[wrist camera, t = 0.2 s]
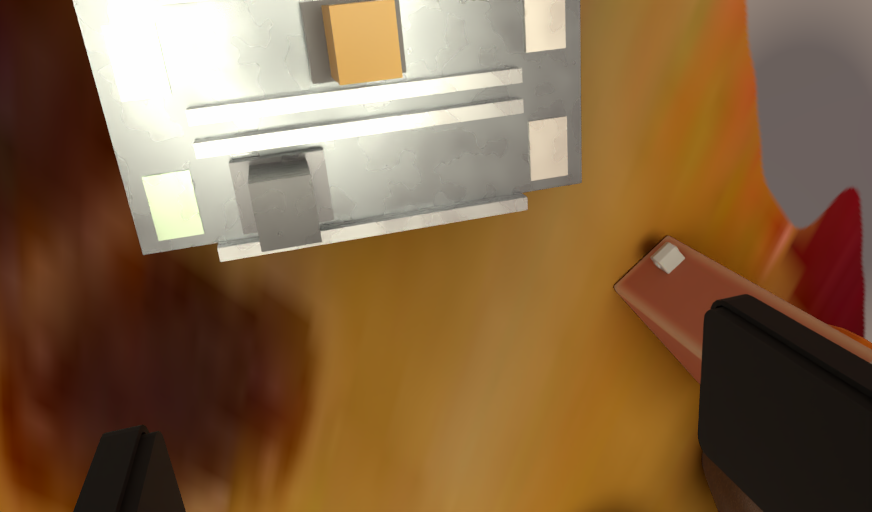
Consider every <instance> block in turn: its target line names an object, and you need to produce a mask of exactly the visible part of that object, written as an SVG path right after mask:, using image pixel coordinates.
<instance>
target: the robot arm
mask: <svg viewBox="0 0 872 512" xmlns="http://www.w3.org/2000/svg"><path fill="white" fill-rule="evenodd" d="M698 439H699V443H700V446H701V448H702V450H703V452H704V453H705V454H706V456H707V457H708V458H709V459H710V460H711V461H712V462H713V463H714V464H715V465H716V466H717V467H718V468H720V469H721V470H722V471H723V472H724V473H725V474H726V475H727V476H728V477H729V478H730V479H731V480H732V481H733V482H734V483H735V484H736V485H737V486H738V487H739V488H740V489H741V490H742V491H743V492H744V493H745V494H746V495H747V496H748V497H749V498H750V499H751V500H752V501H753V502H754V503H755V504H756V505H757V506H758V507H759V508H760V509H761V510H762V511H763V512H872V364H871V363H869V362H867V361H865V360H864V359H862V358H860V357H858V356H857V355H855V354H853V353H851V352H850V351H848V350H846V349H844V348H843V347H841V346H839V345H837V344H836V343H834V342H832V341H830V340H829V339H827V338H825V337H823V336H822V335H820V334H818V333H816V332H815V331H813V330H811V329H809V328H808V327H806V326H804V325H802V324H801V323H799V322H797V321H795V320H794V319H792V318H790V317H788V316H786V315H785V314H783V313H781V312H779V311H778V310H776V309H774V308H772V307H771V306H769V305H767V304H765V303H764V302H762V301H760V300H758V299H757V298H755V297H753V296H751V295H748V294H742V295H738V296H733V297H729V298H724V299H719V300H716V301H715V302H713V304H712V306H711V308H710V310H708V311H707V312H706V313H705V315H704V323H703V343H702V362H701V382H700V401H699V421H698ZM73 512H186V511H185V508H184V504H183V501H182V498H181V494H180V491H179V488H178V484H177V481H176V478H175V474H174V471H173V468H172V464H171V461H170V458H169V455H168V451H167V448H166V445H165V441H164V438H163V436H162V434H161V432H159V431H157V432H152V433H149V431H148V429H147V428H146V426H144V425H140V426H135V427H130V428H126V429H121V430H117V431H112V432H107V433H104V434H103V435H102V437H101V439H100V442H99V445H98V447H97V450H96V453H95V455H94V458H93V461H92V463H91V466H90V469H89V471H88V474H87V477H86V479H85V482H84V485H83V487H82V490H81V493H80V495H79V498H78V500H77V503H76V506H75V508H74V511H73Z"/></svg>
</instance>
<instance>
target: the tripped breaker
mask: <svg viewBox="0 0 872 512" xmlns="http://www.w3.org/2000/svg"><path fill="white" fill-rule="evenodd" d="M299 3H300V9H301V16H302V22H303V29H304V35H305V41H306V48H307V54H308V60H309V67H310V73H311V79H312V83H313V84H318V83H327V82H335V81H336V82H337V83H338V84H339V85H348V84H356V83H364V82H372V81H380V80H388V79H396V78H403V75H402V73H407V71H406V61H405V52H404V42H403V33H402V23H401V13H400V4H399V0H318V1H307V2H299Z"/></svg>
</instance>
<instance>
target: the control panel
mask: <svg viewBox="0 0 872 512" xmlns="http://www.w3.org/2000/svg"><path fill="white" fill-rule="evenodd" d="M614 288H615V291H616V292H617V293H618V294H619V295H620V296H621V297H622V298H623V300H624V301H625V302H626V303H627V304H628V305H629V306H630V307H631V308H632V310H633V311H634V312H635V313H636V314H637V315H638V316H639V317H640V318H641V320H642V321H643V322H644V323H645V324H646V325H647V326H648V327H649V328H650V330H651V331H652V332H653V333H654V334H655V335H656V336H657V337H658V338H659V340H660V341H661V342H662V343H663V344H664V345H665V346H666V347H667V348H668V350H669V351H670V352H671V353H672V354H673V355H674V356H675V357H676V358H677V360H678V361H679V362H680V363H681V364H682V365H683V366H684V367H685V368H686V370H687V371H688V372H689V373H690V374H691V375H692V376H693V377H694V378H695V380H696V381H697V382H698V383H699V384H700V382H701V362H702V343H703V323H704V315H705V313H706V312H707V311H708V310H710V308H711V306H712V304H713V302H715V301H716V300H719V299H724V298H729V297H733V296H738V295H742V294H748V295H751V296H753V297H755V298H757V299H758V300H760V301H762V302H764V303H765V304H767V305H769V306H771V307H772V308H774V309H776V310H778V311H779V312H781V313H783V314H785V315H786V316H788V317H790V318H792V319H794V320H795V321H797V322H799V323H801V324H802V325H804V326H806V327H808V328H809V329H811V330H813V331H815V332H816V333H818V334H820V335H822V336H823V337H825V338H827V339H829V340H830V341H832V342H834V343H836V344H837V345H839V346H841V347H843V348H844V349H846V350H848V351H850V352H851V353H853V354H855V355H857V356H858V357H860V358H862V359H864V360H865V361H867V362H869V363H871V364H872V343H871V342H869V341H868V340H866V339H864V338H862V337H860V336H858V335H856V334H854V333H852V332H850V331H848V330H846V329H843V328H840V327H836V326H832V325H827V324H825V323H823V322H822V321H820V320H818V319H816V318H814V317H813V316H811V315H809V314H807V313H806V312H804V311H802V310H800V309H798V308H797V307H795V306H793V305H791V304H790V303H788V302H786V301H784V300H782V299H781V298H779V297H777V296H775V295H774V294H772V293H770V292H768V291H766V290H765V289H763V288H761V287H759V286H758V285H756V284H754V283H752V282H751V281H749V280H747V279H745V278H743V277H742V276H740V275H738V274H736V273H735V272H733V271H731V270H729V269H727V268H726V267H724V266H722V265H720V264H719V263H717V262H715V261H713V260H711V259H710V258H708V257H706V256H704V255H703V254H701V253H699V252H697V251H695V250H694V249H692V248H690V247H688V246H687V245H685V244H683V243H681V242H679V241H678V240H676V239H674V238H672V237H670V236H667V237H665V238H664V239H663V240H662V241H661V242H660V243H659V244H658V245H657V246H656V247H654V248H653V249H652V250H651V251H650V252H649V253H648V254H647V255H646V256H645V257H644V258H643V259H642V260H641V261H640V262H639V263H638V264H637V265H636V266H634V267H633V268H632V269H631V270H630V271H629V272H628V273H627V274H626V275H625V276H624V277H623V278H622V279H621V280H620V281H619V282H618V283H617V284H615V286H614Z"/></svg>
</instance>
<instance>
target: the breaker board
mask: <svg viewBox="0 0 872 512" xmlns="http://www.w3.org/2000/svg"><path fill="white" fill-rule="evenodd" d="M307 1H318V0H73V3H74V7H75V11H76V14H77V18H78V22H79V25H80V29H81V32H82V36H83V40H84V43H85V47H86V50H87V54H88V58H89V61H90V65H91V68H92V72H93V76H94V79H95V83H96V87H97V90H98V94H99V97H100V101H101V105H102V108H103V112H104V115H105V119H106V123H107V126H108V130H109V133H110V137H111V141H112V144H113V148H114V151H115V155H116V159H117V162H118V166H119V170H120V173H121V177H122V180H123V184H124V188H125V191H126V195H127V198H128V202H129V206H130V209H131V213H132V216H133V220H134V224H135V227H136V231H137V235H138V238H139V242H140V245H141V249H142V253H143V255H146V254H152V253H158V252H164V251H170V250H176V249H182V248H189V247H195V246H201V245H207V244H213V243H218V248H217V249H218V254H219V258H220V262H224V261H230V260H235V259H241V258H247V257H253V256H259V255H265V254H271V253H277V252H283V251H288V250H294V249H300V248H306V247H312V246H318V245H324V244H330V243H335V242H341V241H347V240H353V239H359V238H365V237H371V236H377V235H382V234H388V233H394V232H400V231H406V230H412V229H418V228H424V227H429V226H435V225H441V224H447V223H453V222H459V221H465V220H471V219H477V218H482V217H488V216H494V215H500V214H506V213H512V212H518V211H524V210H528V204H527V197H526V196H525V195H524V194H522V193H523V192H529V191H535V190H541V189H547V188H553V187H559V186H565V185H572V184H578V183H582V173H581V56H580V0H399V4H400V13H401V23H402V33H403V42H404V52H405V61H406V71H407V73H402V75H403V78H396V79H388V80H380V81H372V82H364V83H356V84H348V85H339V84H338V83H337V82H336V81H335V82H327V83H318V84H313V83H312V79H311V73H310V67H309V60H308V54H307V48H306V41H305V35H304V29H303V22H302V16H301V9H300V3H299V2H307Z"/></svg>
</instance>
